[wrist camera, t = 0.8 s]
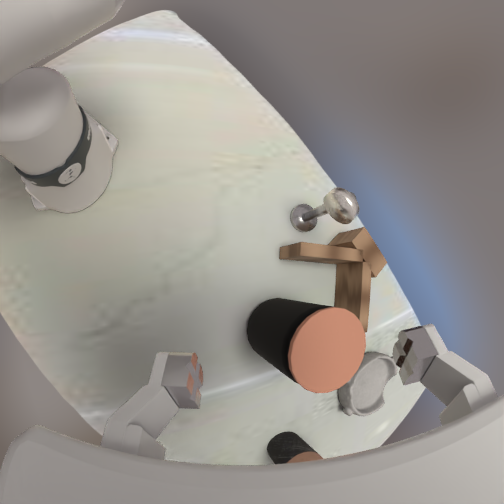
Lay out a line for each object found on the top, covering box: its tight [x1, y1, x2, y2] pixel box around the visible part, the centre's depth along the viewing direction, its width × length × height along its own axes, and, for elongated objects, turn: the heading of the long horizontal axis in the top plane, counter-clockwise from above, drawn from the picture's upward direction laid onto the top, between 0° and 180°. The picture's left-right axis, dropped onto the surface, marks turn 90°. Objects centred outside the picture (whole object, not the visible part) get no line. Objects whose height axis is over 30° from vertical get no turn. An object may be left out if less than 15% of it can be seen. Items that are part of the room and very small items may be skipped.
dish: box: [338, 352, 397, 416], centre depth 49 cm, size 14×14×5 cm
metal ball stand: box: [290, 187, 359, 232], centre depth 42 cm, size 5×5×16 cm
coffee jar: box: [247, 298, 366, 393], centre depth 38 cm, size 11×11×18 cm
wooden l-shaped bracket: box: [279, 227, 387, 332], centre depth 47 cm, size 20×13×8 cm, turn 42°
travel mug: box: [267, 432, 323, 464], centre depth 36 cm, size 8×8×20 cm
